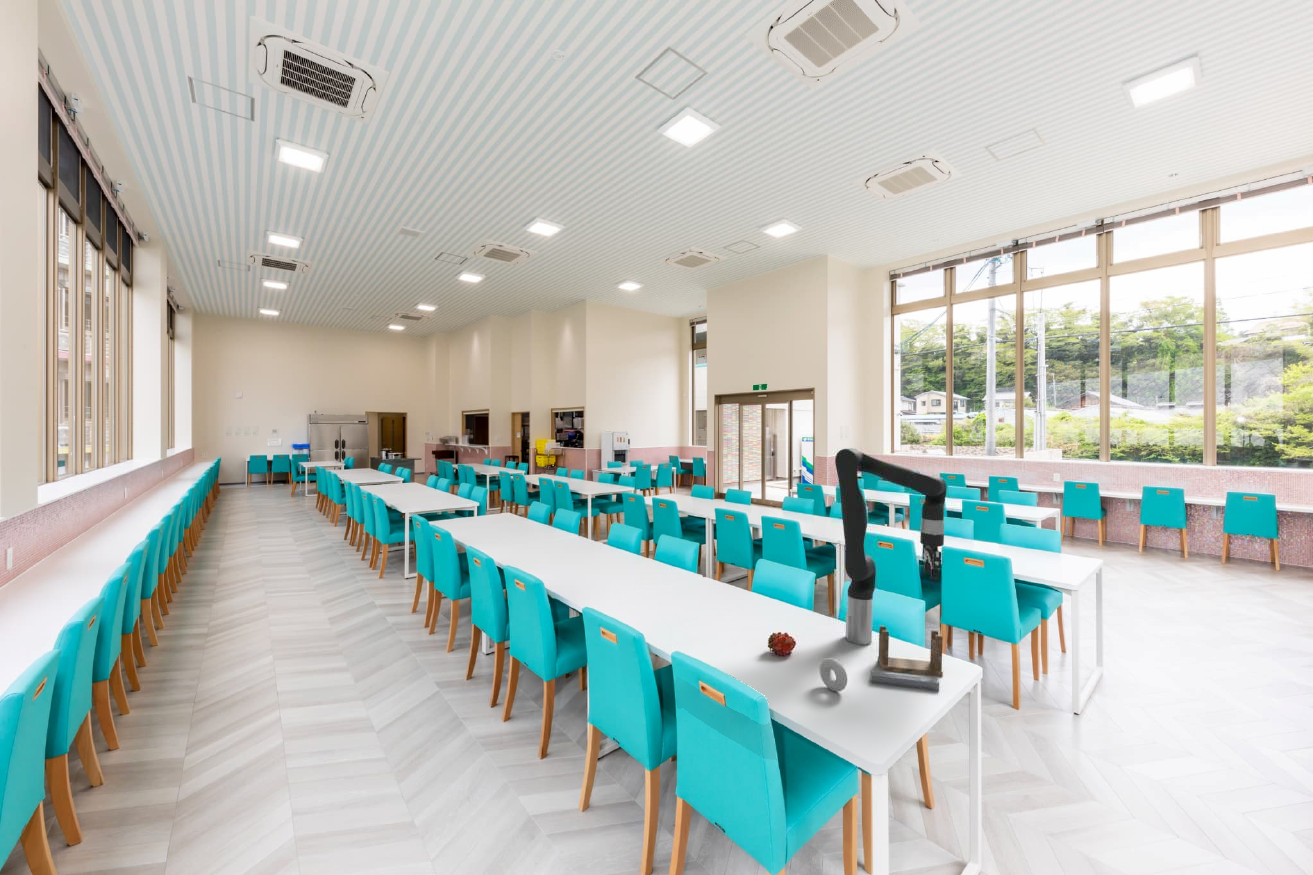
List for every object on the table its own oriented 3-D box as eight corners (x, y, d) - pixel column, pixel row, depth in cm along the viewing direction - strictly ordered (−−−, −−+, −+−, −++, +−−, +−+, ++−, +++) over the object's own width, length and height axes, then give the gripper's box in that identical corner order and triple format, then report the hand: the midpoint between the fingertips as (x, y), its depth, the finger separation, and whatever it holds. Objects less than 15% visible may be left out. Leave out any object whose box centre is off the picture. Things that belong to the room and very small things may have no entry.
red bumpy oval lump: (764, 659, 195) (792, 659, 199) (776, 652, 188) (805, 653, 192) (760, 635, 200) (787, 636, 204) (772, 628, 193) (799, 629, 197)
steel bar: (871, 684, 174) (872, 675, 174) (870, 680, 177) (870, 671, 177) (939, 692, 170) (939, 682, 170) (936, 687, 172) (936, 678, 172)
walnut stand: (882, 670, 184) (883, 632, 184) (877, 660, 192) (878, 624, 191) (942, 676, 180) (943, 637, 180) (935, 666, 188) (936, 629, 188)
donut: (816, 684, 172) (817, 653, 172) (824, 682, 174) (825, 651, 174) (841, 698, 164) (842, 666, 164) (849, 695, 165) (850, 663, 165)
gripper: (915, 527, 201) (914, 570, 201) (926, 534, 187) (925, 580, 187) (937, 528, 199) (936, 571, 199) (950, 535, 185) (948, 582, 185)
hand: (930, 576), depth 193 cm, fingers open, 8 cm apart
